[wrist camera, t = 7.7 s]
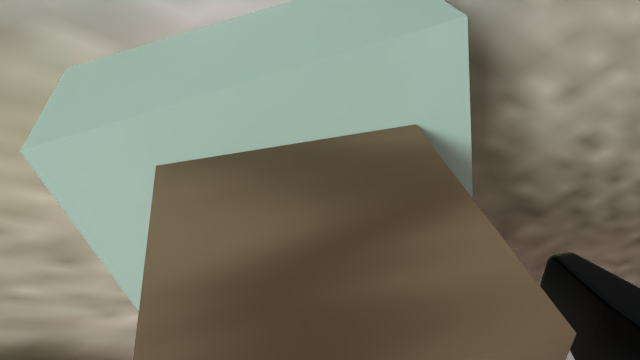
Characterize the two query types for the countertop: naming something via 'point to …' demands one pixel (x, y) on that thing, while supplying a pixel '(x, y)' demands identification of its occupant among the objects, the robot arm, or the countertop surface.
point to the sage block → (246, 105)
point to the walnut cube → (334, 260)
